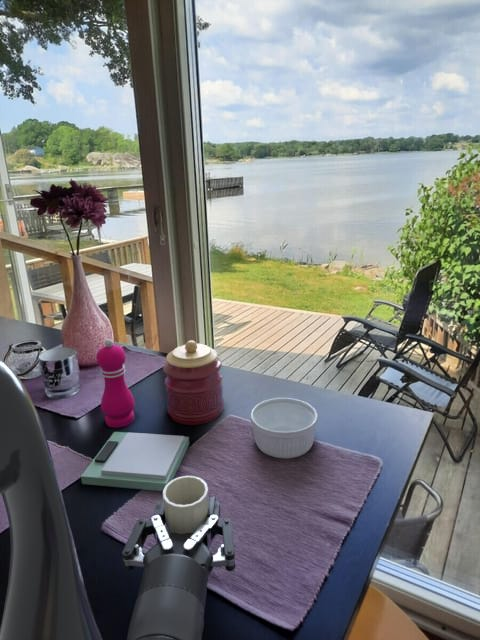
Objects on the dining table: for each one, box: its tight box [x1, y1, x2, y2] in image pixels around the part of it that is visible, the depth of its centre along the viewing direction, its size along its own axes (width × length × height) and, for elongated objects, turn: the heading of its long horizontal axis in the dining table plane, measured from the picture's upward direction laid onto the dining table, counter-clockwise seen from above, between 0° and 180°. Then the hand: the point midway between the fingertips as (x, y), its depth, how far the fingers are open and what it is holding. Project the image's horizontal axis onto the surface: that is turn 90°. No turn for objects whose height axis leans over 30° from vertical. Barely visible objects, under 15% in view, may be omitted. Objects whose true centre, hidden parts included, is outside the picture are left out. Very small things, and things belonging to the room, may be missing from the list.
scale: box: [80, 431, 190, 492], centre depth 84 cm, size 16×14×3 cm
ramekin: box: [250, 397, 319, 459], centre depth 88 cm, size 13×13×7 cm
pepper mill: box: [96, 338, 136, 429], centre depth 96 cm, size 7×7×20 cm
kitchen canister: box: [162, 340, 225, 426], centre depth 99 cm, size 13×13×18 cm
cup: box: [162, 475, 212, 552], centre depth 61 cm, size 6×6×10 cm
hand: (189, 501), depth 63 cm, fingers closed on cup, 6 cm apart
